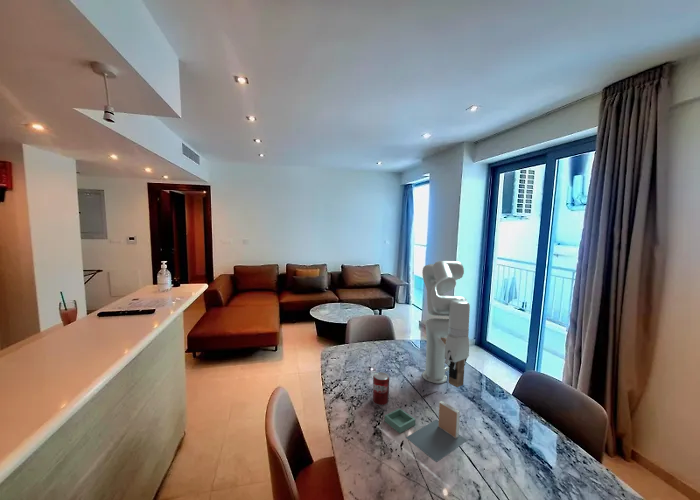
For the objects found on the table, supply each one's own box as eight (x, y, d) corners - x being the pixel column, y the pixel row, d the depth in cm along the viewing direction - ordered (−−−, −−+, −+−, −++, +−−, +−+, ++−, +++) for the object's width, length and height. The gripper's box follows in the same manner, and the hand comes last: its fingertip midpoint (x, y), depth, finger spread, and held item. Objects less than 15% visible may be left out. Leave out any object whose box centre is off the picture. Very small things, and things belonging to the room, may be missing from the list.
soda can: (388, 407, 128) (388, 381, 127) (371, 405, 130) (372, 378, 129) (389, 397, 135) (389, 372, 134) (373, 395, 137) (374, 371, 136)
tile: (440, 424, 117) (441, 400, 116) (458, 436, 110) (459, 411, 109) (438, 426, 116) (439, 402, 115) (455, 438, 109) (457, 412, 108)
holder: (399, 414, 123) (399, 408, 123) (415, 426, 116) (415, 419, 116) (384, 422, 118) (384, 415, 118) (399, 434, 111) (400, 427, 111)
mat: (436, 420, 120) (436, 419, 120) (467, 441, 108) (467, 440, 108) (405, 438, 109) (405, 437, 109) (436, 463, 98) (436, 462, 98)
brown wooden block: (454, 380, 120) (456, 351, 120) (463, 384, 117) (464, 355, 116) (448, 382, 118) (449, 354, 117) (457, 387, 115) (458, 357, 114)
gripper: (462, 325, 124) (461, 367, 125) (436, 332, 115) (435, 377, 116) (479, 330, 118) (477, 374, 119) (453, 338, 108) (451, 386, 110)
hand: (456, 375), depth 117 cm, fingers closed on brown wooden block, 4 cm apart
